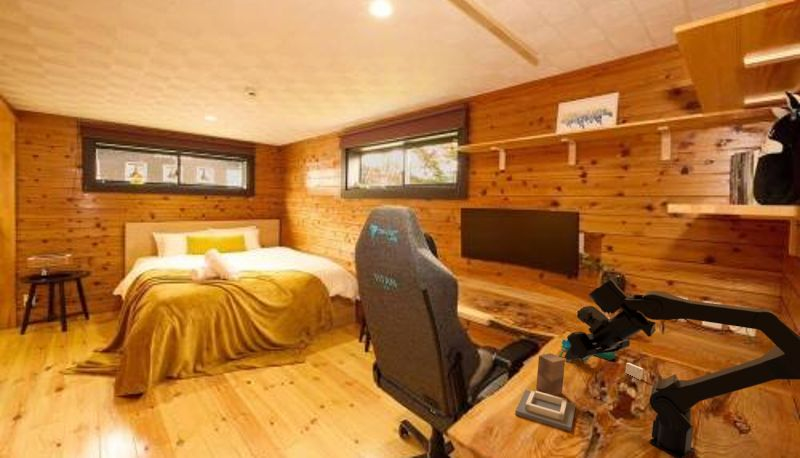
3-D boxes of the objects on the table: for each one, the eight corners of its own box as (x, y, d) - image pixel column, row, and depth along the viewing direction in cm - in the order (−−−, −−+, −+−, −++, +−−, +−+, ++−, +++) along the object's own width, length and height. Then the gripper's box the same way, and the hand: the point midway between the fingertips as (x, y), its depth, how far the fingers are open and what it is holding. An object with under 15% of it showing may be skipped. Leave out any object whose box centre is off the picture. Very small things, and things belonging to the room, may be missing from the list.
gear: (595, 361, 130) (578, 341, 128) (585, 374, 128) (567, 354, 127) (573, 353, 140) (556, 334, 139) (563, 365, 139) (546, 346, 138)
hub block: (562, 393, 109) (565, 359, 108) (550, 396, 107) (553, 362, 106) (547, 385, 113) (550, 353, 113) (536, 388, 111) (538, 355, 110)
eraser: (627, 373, 126) (628, 362, 125) (642, 379, 121) (643, 368, 121) (625, 373, 125) (626, 362, 125) (639, 380, 121) (640, 369, 121)
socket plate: (575, 407, 101) (576, 398, 101) (570, 431, 90) (571, 421, 90) (525, 393, 108) (525, 384, 108) (515, 414, 96) (515, 404, 96)
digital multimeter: (611, 362, 135) (612, 354, 135) (568, 349, 145) (569, 342, 145) (616, 356, 141) (617, 349, 141) (574, 345, 151) (575, 338, 151)
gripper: (621, 296, 102) (581, 324, 112) (576, 301, 93) (537, 332, 103) (650, 334, 95) (605, 360, 106) (604, 344, 86) (560, 372, 97)
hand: (577, 355), depth 103 cm, fingers open, 9 cm apart
